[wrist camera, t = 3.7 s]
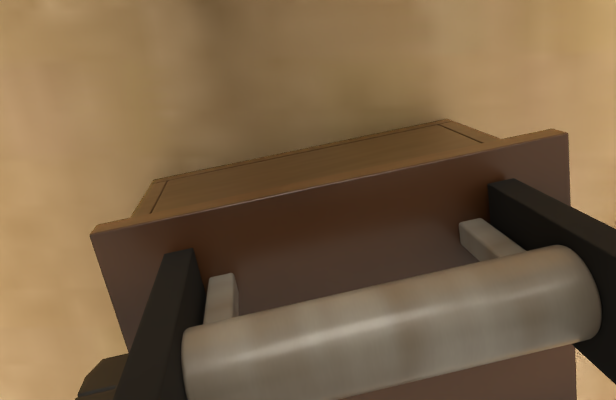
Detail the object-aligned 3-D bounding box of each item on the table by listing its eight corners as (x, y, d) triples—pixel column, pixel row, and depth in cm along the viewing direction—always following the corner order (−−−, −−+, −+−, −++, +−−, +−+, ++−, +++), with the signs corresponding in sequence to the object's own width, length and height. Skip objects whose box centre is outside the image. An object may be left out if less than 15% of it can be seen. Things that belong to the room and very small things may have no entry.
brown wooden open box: (153, 179, 22) (106, 254, 14) (447, 118, 23) (553, 158, 15) (242, 494, 28) (243, 672, 20) (479, 435, 28) (570, 584, 21)
